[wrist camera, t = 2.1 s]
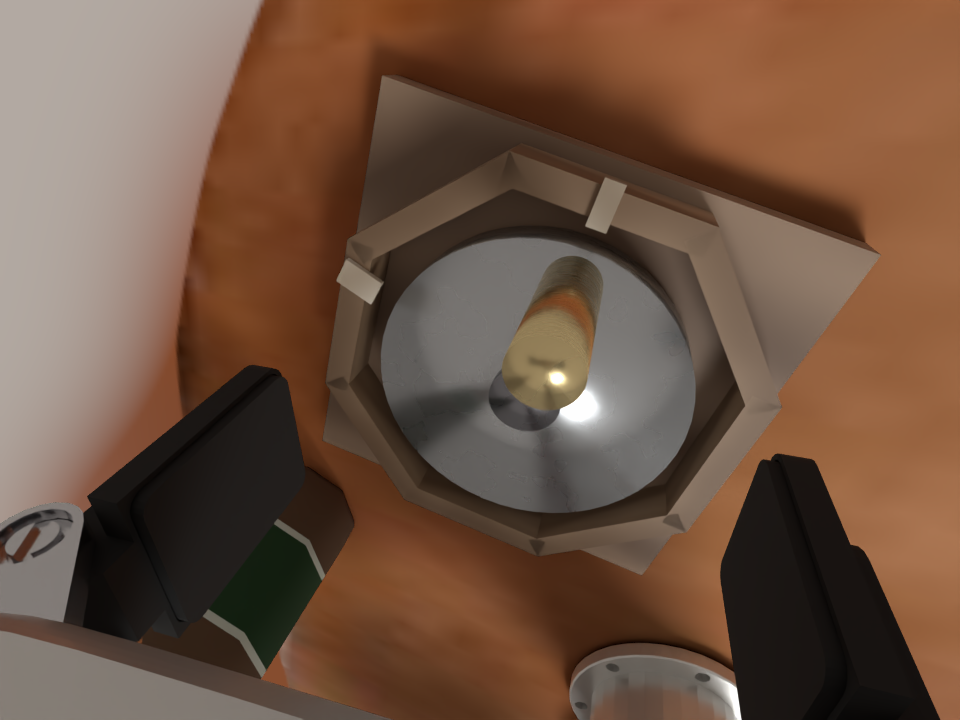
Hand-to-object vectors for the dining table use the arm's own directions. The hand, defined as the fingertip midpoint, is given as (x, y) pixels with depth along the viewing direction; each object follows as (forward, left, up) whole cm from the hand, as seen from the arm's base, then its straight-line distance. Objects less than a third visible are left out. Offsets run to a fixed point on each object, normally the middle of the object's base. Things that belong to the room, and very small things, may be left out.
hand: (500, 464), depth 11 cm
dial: (-6, 0, -14) cm, 15 cm away
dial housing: (-6, 0, -15) cm, 17 cm away
